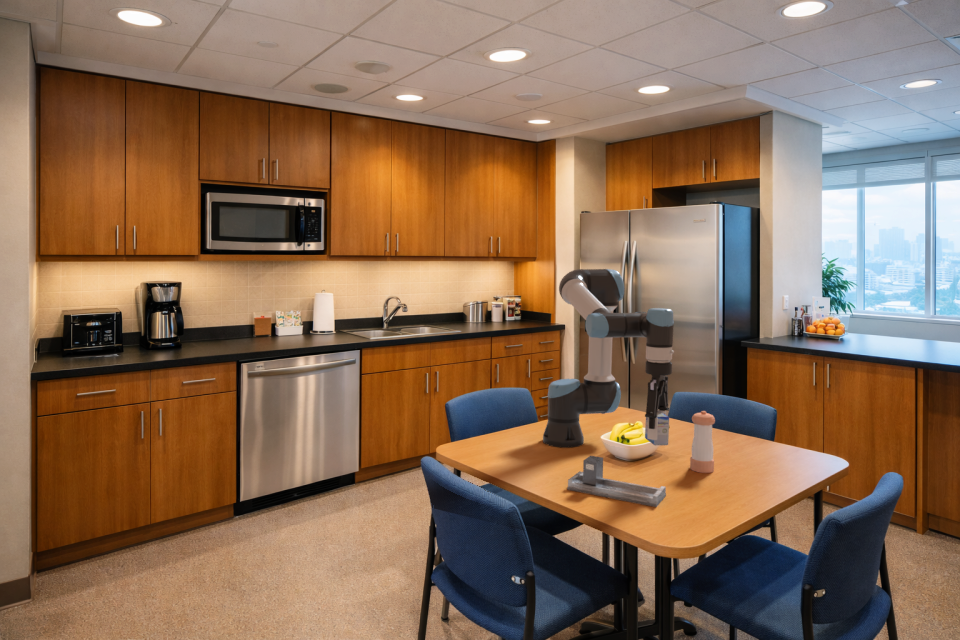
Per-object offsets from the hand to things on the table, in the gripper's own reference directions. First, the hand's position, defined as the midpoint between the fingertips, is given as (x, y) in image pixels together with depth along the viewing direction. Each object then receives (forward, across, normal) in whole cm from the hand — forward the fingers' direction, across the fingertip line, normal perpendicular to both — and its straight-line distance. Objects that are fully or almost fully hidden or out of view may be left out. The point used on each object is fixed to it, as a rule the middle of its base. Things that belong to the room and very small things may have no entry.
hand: (656, 435), depth 183 cm
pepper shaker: (+15, +22, -9) cm, 28 cm away
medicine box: (+2, 0, 0) cm, 2 cm away
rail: (+15, -13, +8) cm, 21 cm away
